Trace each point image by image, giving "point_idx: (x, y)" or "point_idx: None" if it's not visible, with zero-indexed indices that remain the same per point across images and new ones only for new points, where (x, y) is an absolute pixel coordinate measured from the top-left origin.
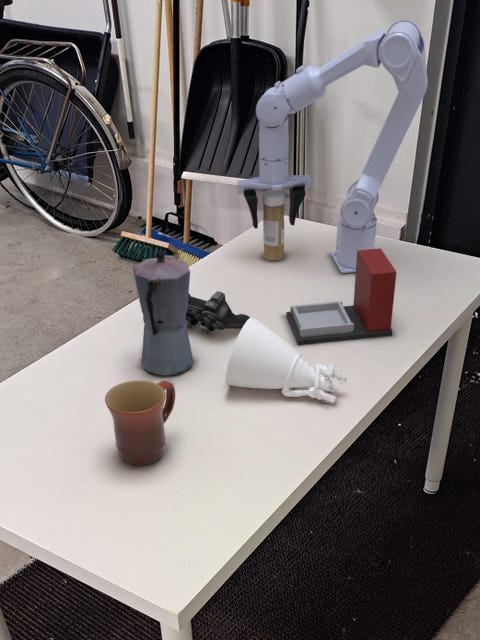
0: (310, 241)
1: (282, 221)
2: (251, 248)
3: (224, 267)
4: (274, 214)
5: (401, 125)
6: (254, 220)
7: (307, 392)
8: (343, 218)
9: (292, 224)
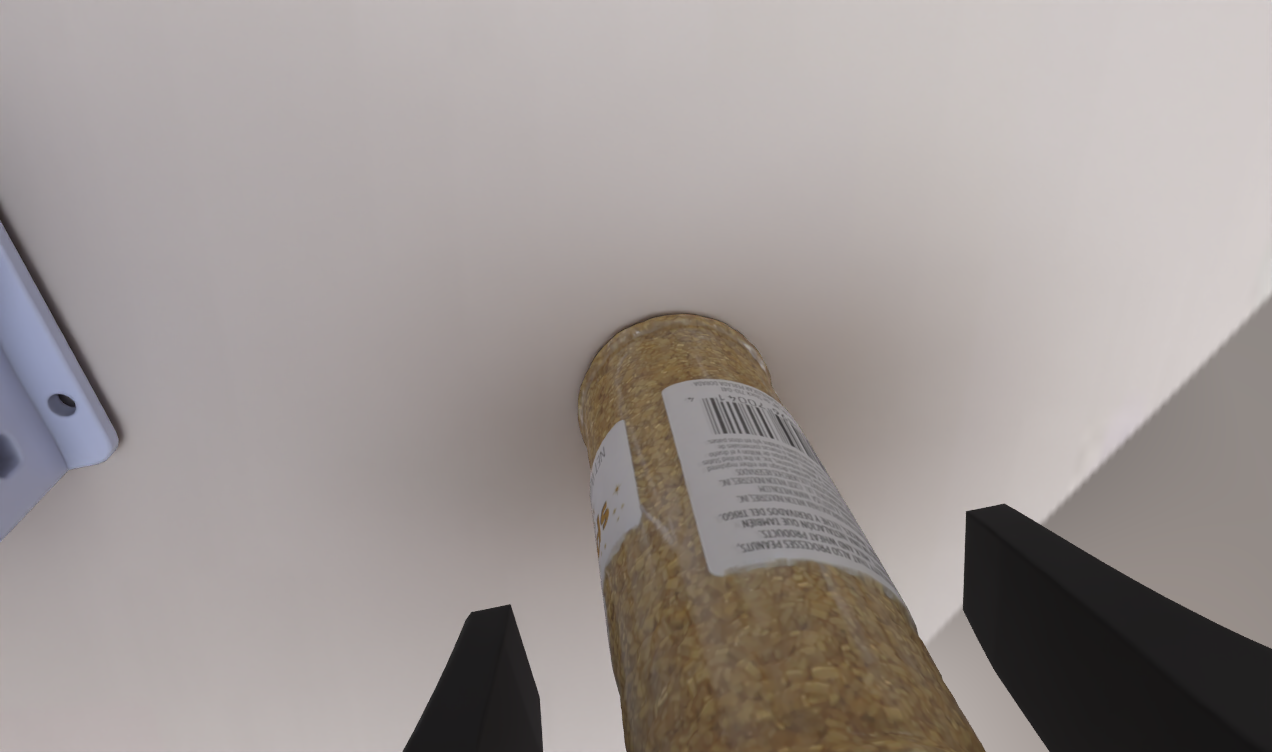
0: (366, 672)
1: (641, 609)
2: None
3: (1142, 193)
4: (809, 653)
5: None
6: (1088, 561)
7: None
8: None
9: (491, 614)
